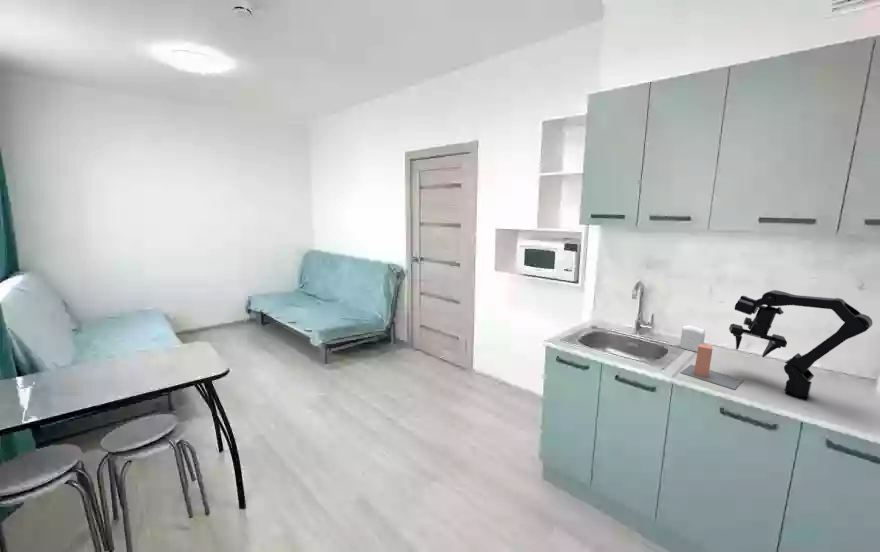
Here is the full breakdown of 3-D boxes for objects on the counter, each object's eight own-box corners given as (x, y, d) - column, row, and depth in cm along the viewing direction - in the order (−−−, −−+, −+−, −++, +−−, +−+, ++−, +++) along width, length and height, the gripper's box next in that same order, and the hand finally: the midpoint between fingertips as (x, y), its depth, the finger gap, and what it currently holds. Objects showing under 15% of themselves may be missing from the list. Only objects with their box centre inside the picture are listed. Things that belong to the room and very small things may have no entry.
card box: (707, 374, 173) (712, 345, 171) (708, 377, 170) (712, 349, 167) (694, 371, 176) (698, 343, 173) (694, 374, 172) (698, 346, 170)
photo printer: (678, 347, 204) (681, 324, 202) (681, 345, 207) (684, 323, 205) (700, 353, 197) (704, 330, 194) (703, 351, 199) (707, 328, 197)
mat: (743, 380, 168) (743, 379, 168) (734, 390, 160) (734, 389, 160) (690, 365, 183) (691, 364, 183) (680, 373, 175) (680, 372, 175)
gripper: (787, 320, 165) (772, 352, 171) (733, 307, 173) (721, 338, 179) (794, 329, 156) (778, 363, 161) (737, 315, 164) (724, 348, 169)
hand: (749, 353), depth 168 cm, fingers open, 9 cm apart
